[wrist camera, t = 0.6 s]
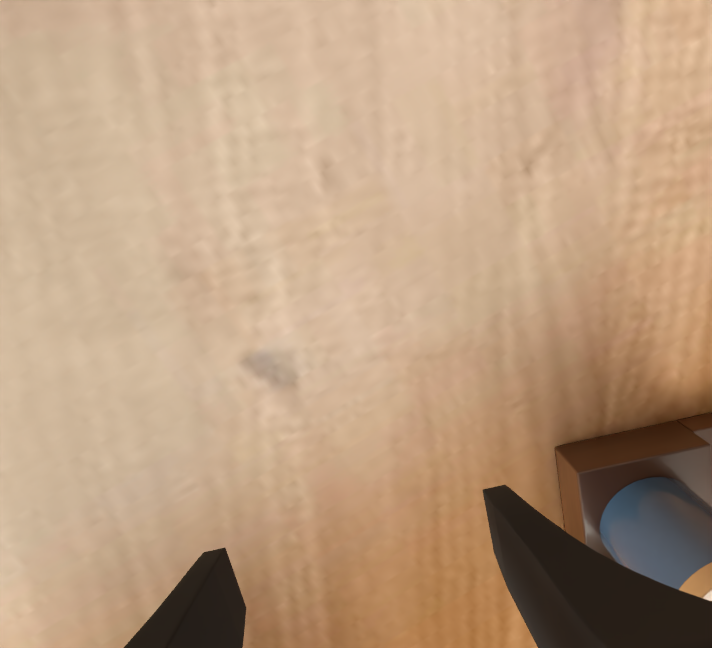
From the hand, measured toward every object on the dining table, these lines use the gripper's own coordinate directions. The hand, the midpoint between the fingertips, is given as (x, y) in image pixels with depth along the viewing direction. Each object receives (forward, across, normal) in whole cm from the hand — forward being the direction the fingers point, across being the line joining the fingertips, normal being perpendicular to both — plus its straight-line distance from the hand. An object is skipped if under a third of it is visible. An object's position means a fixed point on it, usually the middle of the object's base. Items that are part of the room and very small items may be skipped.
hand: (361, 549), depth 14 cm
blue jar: (+8, -12, +8) cm, 16 cm away
